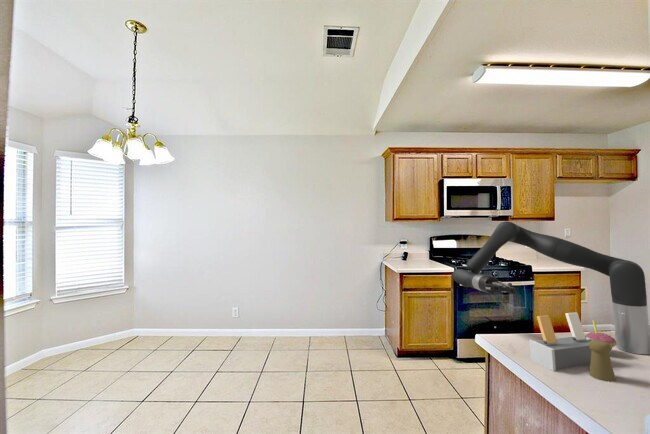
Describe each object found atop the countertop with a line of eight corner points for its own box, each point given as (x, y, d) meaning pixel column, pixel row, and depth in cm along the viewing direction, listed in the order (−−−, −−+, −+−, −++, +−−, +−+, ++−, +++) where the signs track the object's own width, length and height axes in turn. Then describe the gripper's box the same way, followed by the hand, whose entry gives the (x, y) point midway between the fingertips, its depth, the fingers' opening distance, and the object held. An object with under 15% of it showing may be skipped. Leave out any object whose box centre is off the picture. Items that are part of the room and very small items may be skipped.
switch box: (579, 353, 110) (577, 334, 110) (606, 363, 101) (604, 343, 101) (530, 359, 106) (528, 340, 107) (553, 371, 97) (551, 349, 98)
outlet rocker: (554, 342, 104) (546, 315, 107) (557, 342, 103) (549, 315, 105) (544, 343, 103) (536, 316, 106) (546, 344, 102) (538, 316, 105)
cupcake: (580, 350, 112) (578, 318, 113) (595, 346, 115) (592, 315, 115) (608, 359, 104) (605, 324, 105) (623, 355, 107) (620, 321, 107)
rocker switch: (583, 339, 106) (574, 312, 108) (586, 339, 105) (577, 312, 107) (573, 340, 105) (564, 313, 108) (576, 340, 104) (567, 313, 107)
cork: (621, 382, 89) (617, 345, 90) (598, 381, 90) (594, 344, 91) (606, 372, 95) (603, 338, 96) (584, 371, 96) (582, 337, 97)
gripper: (471, 276, 134) (499, 282, 117) (497, 274, 136) (528, 280, 119) (472, 292, 134) (500, 301, 117) (498, 290, 136) (530, 299, 119)
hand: (514, 291), depth 118 cm, fingers closed
